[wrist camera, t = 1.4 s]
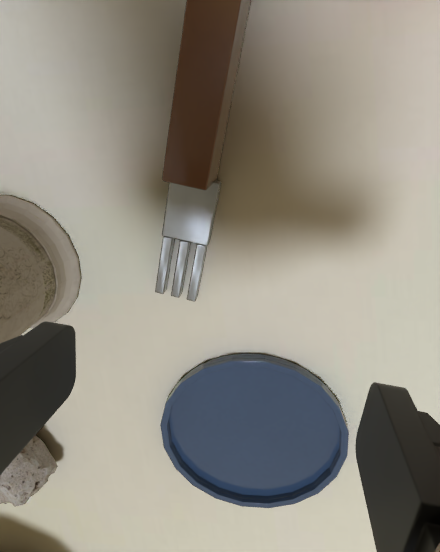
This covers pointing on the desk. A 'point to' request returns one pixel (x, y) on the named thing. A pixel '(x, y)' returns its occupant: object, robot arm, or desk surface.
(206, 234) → the brown bar
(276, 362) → the plate
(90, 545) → the desk surface
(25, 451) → the stone
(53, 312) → the mug
